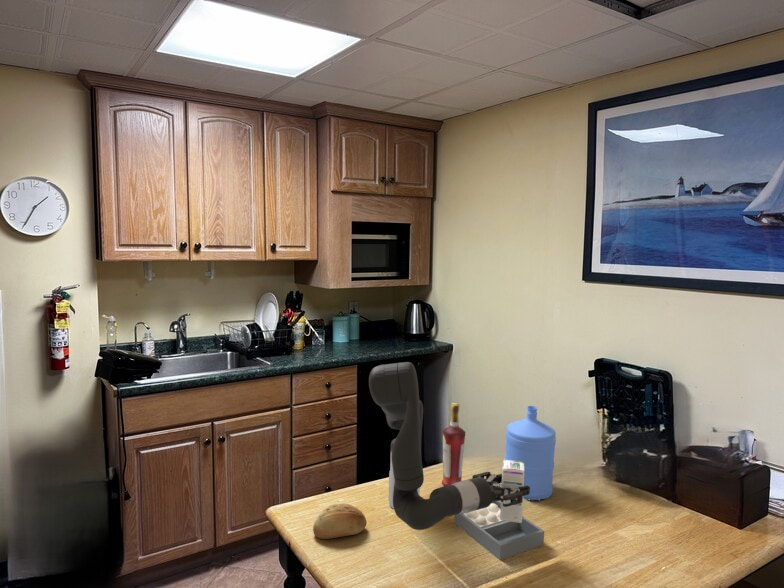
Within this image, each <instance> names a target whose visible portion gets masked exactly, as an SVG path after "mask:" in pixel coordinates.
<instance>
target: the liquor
mask: <svg viewBox="0 0 784 588" xmlns="http://www.w3.org/2000/svg"><path fill="white" fill-rule="evenodd" d="M459 411H460V404H459V403H456V402H455V403H454V402H453V403H450V412H451V414H450V420H449V421H450V422H449V426H447V427H446V428H444V429H443V430H442V465H443V466H442V469H443V471H442V475H443V476H442V480H441V485H442V486H443V487H444V486H448V485H452V484H454V483H457V482H460V481H462V478H463V477H462V474H463V463H464V462H463V461H464V452H465V441H466V431H465V430H464V429H463V428H462V427H460V425H459V423H460V421H459V420H460V419H459Z"/></svg>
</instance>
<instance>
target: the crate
mask: <svg viewBox="0 0 784 588" xmlns="http://www.w3.org/2000/svg"><path fill="white" fill-rule="evenodd" d="M492 503H494V504H496V505H497V506H498V508H500V509H501V501H493V502H492ZM492 503H491V504H492ZM453 518H454V519H453V523H454V524H455V525H456V526H457V527H458V528H459V529H461V530H462V531H464V532H465V533H466V534H467V535H468V536H469V537H471V539H473V540H474V541H475V542H477V543H478V544H479V545H480V546H482V547H483V548H484V549H485V550H486V551H488V552H489V553H490V554H492V556H494V557H495V558H496V559H497V560H498V561H502V560H505V559H509V558H511V557H514V556H517V555H520V554H523V553H524V552H525V553H526V552H527V551H531V550H533V549H537V548H539V547H542V546H544V540H545V530H544V529H542V528H541V527H539V526H537V525H536V524H535V523H533V522H532V521H530V520H529V519H527V518H526V517H525V516H523V515H522V523H517V522H510V521H504V522H501V523H497V524H494V525H491V526H488V527H484V528H481V527H480V526H478V525H477V524H476V523H474V522H473V521H472V520H470V519H469V518H468V517H467V516H465V515H464V514H463V513H461V514H456V515H453Z"/></svg>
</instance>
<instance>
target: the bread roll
mask: <svg viewBox="0 0 784 588" xmlns="http://www.w3.org/2000/svg"><path fill="white" fill-rule="evenodd" d="M366 527H367V519H366V516H365V514H364V513H363V512H362V511H361V510H360V509H359V508H358V507H356V506H354V505H352V504H348V503H336V504H335V503H334V504H332V505H329V506H327V507H326V508H324V509H323V510H322V511H321V512H320V513H319V514H318V516H317V518H316V519H315V520H314V524H313V527H312V532H313V535H315V537H317V538H318V539H321V540H328V539H336V538H341V537H346V536H347V537H348V536H352V535H358V534H359V533H361V532H363V531H364V530H365V529H366Z"/></svg>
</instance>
